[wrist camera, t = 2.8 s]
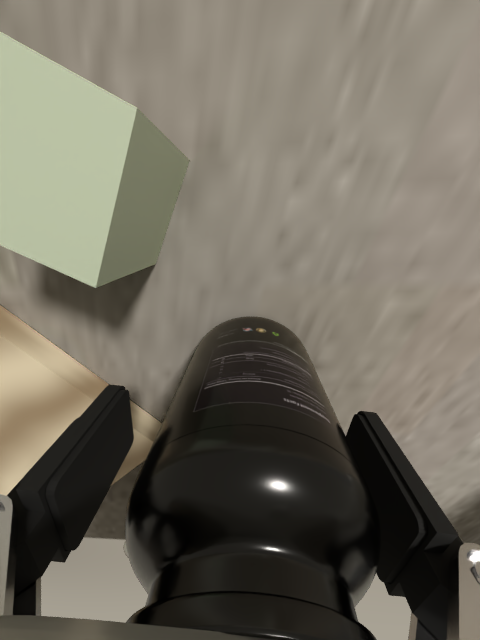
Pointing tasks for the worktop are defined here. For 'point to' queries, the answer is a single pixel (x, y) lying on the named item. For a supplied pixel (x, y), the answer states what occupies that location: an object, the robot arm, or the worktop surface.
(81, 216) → the sage block
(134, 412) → the birch board
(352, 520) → the supplement bottle
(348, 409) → the worktop surface
